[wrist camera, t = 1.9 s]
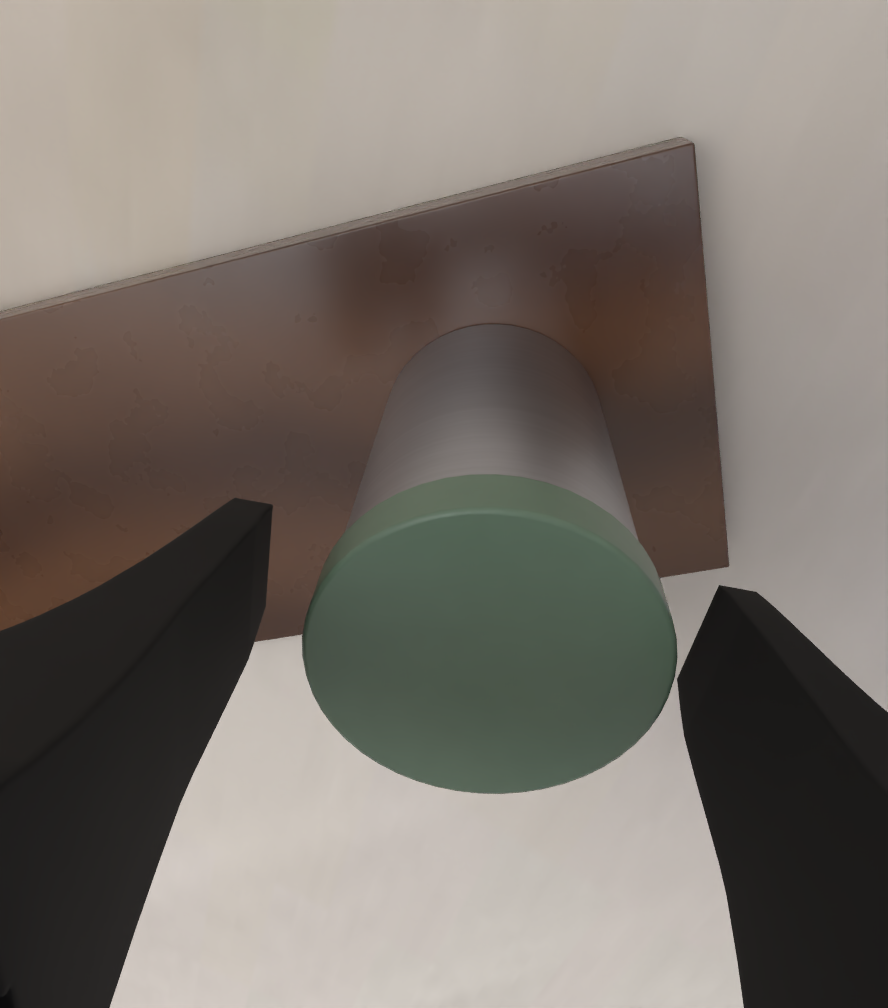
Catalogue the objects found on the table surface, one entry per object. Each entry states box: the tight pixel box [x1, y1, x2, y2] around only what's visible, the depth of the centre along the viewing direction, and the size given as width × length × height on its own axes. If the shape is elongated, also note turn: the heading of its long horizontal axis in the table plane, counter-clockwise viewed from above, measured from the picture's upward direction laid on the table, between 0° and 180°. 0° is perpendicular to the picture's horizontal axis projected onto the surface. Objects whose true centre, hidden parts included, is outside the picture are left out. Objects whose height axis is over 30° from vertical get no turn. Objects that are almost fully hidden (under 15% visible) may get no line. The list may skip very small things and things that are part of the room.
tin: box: [302, 324, 677, 794], centre depth 14 cm, size 5×5×8 cm
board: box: [0, 137, 729, 642], centre depth 20 cm, size 10×24×1 cm, turn 104°
